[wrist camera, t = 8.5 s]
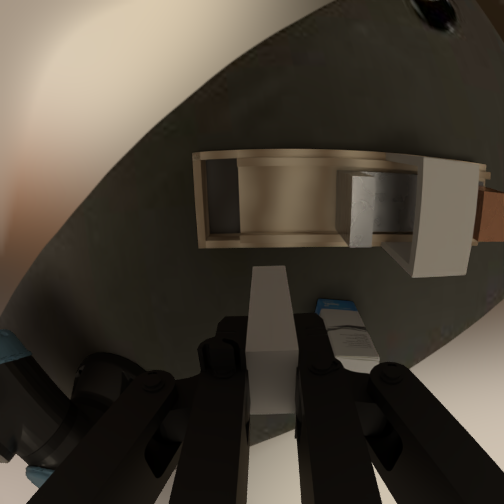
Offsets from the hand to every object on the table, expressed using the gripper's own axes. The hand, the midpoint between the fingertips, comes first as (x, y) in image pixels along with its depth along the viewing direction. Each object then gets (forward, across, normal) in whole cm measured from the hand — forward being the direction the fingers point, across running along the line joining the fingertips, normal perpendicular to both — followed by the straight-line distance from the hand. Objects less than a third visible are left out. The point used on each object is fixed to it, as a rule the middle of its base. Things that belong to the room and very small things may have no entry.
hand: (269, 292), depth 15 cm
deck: (+20, +10, +2) cm, 23 cm away
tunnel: (+17, +15, +1) cm, 23 cm away
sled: (+17, +16, +1) cm, 23 cm away
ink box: (+21, +8, -16) cm, 27 cm away
